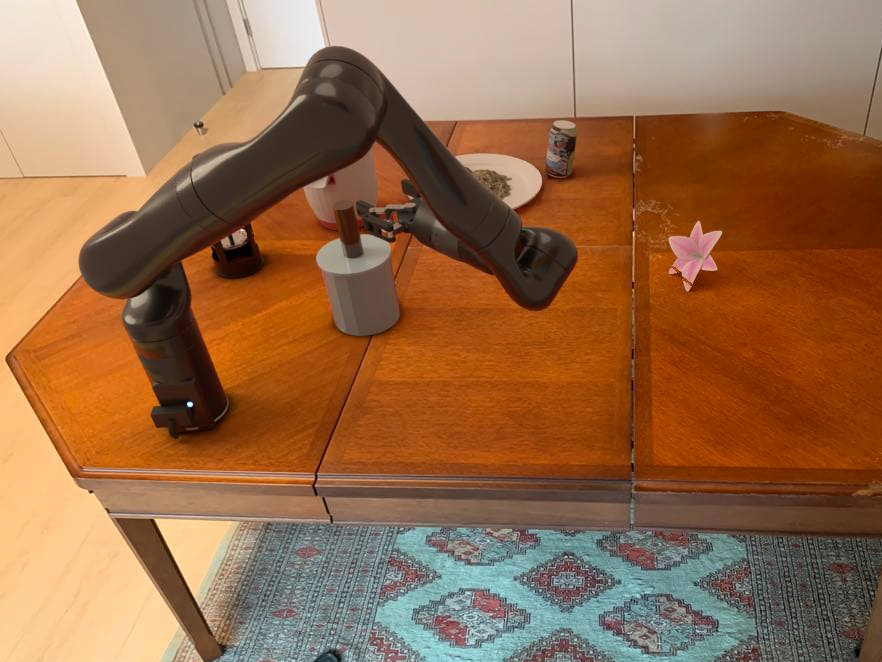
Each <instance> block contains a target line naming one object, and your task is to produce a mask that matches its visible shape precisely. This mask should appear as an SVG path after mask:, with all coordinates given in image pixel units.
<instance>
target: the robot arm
mask: <svg viewBox="0 0 882 662" xmlns="http://www.w3.org/2000/svg"><path fill="white" fill-rule="evenodd" d="M375 143H377V144H378V145H379V146H380V147H381V148H383V150H385V152H387V153H388V154H389V155H390V157H391V158H393V160H394V161H395V162H396V163H397V165H399V167H400V168H401V169H402V172H404V173H405V176H406V177H407V178H403V179H401V180H400V185H401V191H402V193H403V194H405V195H407V196H408V195H409V196H411V197H413V199H411V200H410V199H409V200H408V201H407V202H403V203H400V204H397V203H395V204H393V203H391V204H386V206H385V207H378V206H377V207H375V206H373V205H371V204H369V203H367V202H365V201H362V200H359V201H357V202H356V210H357V214H358V216H360V217H362V219H363V223H364V226H363V227H364V228H363V229H364V232H365V233H366V234H367V235H373V236H375V237H377V238H380V239H382V240H384V241H387V242H388V243H389V244H391V243H396V241H397V238H396V237H397V235H399V234H401V233H403V234H410V235H412V236H413V237H414V238H415V239H416V240H417V241H418V242H419V243H420V244H421V245H423V246H425V247H427V248H430V249H431V250H434V251H435V252H437V253H440V254H441V255H443V256H446V257H447V258H449V259H452V260H454V261H456V262H461V263H463V264H466V265H468V266H470V267H472V268H474V269H476V270H479V271H481V272H482V273H484V274H487V275H489V276H493V277H495V278H496V280H497V281H498V282H499V284H500V285H501V287H502V288H503V291H504V292H505V293H506V295H508V297H509V298H510V299H511V300H512V301H513V302H514V303H515V304H516V305H517V306H519V307H520V308H522V309H524V310H526V311H529V312H541V311H544V310H546V309H548V308H549V307H550V306H551V305H552V304H553V302H554V301H555V299H556V298H557V296H558V294H559V293H560V291H561V289H562V288H563V286H564V285H565V283H566V282H567V280H568V278H569V277H570V276H571V274H572V272H573V270H574V269H575V268H576V265H577V263H578V262H579V261H578V260H579V252H578V249H577V247H576V245H575V243H574V241H573V240H572V239H571V238H570V237H569V236H568V235H566V234H565V233H563V232H561V231H559V230H556V229H553V228H549V227H543V226H535V225H533V226H532V225H523V220H522V218H521V217H520V215H519V214H518V213H517V212H516V211H515V209H512V208H511V207H509V206H508V205H507V204H506V203H505V202H504V201H503V200H501V199H500V198H499V197H498V196H497V195H496V194H495V193H493V192H492V191H491V190H490V189H489V188H488V187H486V186H485V185H484V184H483V183H482V182H481V181H479V180H478V179H477V178H476V177H475V176H474V175H473V174H472V173H471V172H470V171H469V170H468V169H467V168H466V167H465V166H463V165H462V164H461V163H460V162H459V161H458V159H457V158H456V157H455V156H456V155H455V154H453V153H452V152H451V150H450V149H449V148H448V147H447V146H446V145H445V144H444V143H443V142H442V140H440V138H439V137H438V136H437V135H436V134H435V132H433V130H432V128H430V126H428V124H427V123H426V122H425V121H424V120H423V119H422V118H421V116H420V115H419V114H418V113H417V112H416V111H415V109H414V108H413V107H412V106H411V105H410V104H409V102H408V101H407V100H406V99H405V97H404V96H403V95H402V93H400V91H399V90H398V89H397V88H396V87H395V86H394V84H393V83H392V82H391V81H390V79H389V78H388V77H387V76H386V75H385V74H384V72H382V70H381V69H380V68H379V67H378V66H377V65H375V63H374V62H372V60H371V59H369V58H368V57H366V56H365V55H363V53H361V52H358V51H357V50H355V49H354V48H350V47H347V46H341V45H329V46H325V47H323V48H321V49H319V50H317V51H316V52H314V53H313V54H312V55H311V57H310V58H309V59H308V61H307V62H306V64H305V66H304V68H303V71H302V73H301V75H300V77H299V80H298V81H297V84H296V86H295V88H294V91H293V92H292V95H291V97H290V100H289V102H288V103H287V105H286V106H285V107H284V109H283V110H282V111H281V112H280V113H279V114H278V116H277V117H276V118H274V120H273V121H272V122H271V123H269V124H268V125H267V126H266V127H264V129H262V130H261V131H260V132H259V133H258V134H256V135H255V136H254V137H252V138H250V139H248V140H246V141H241V142H240V141H238V142H237V141H232V142H231V141H230V142H223V143H222V142H221V143H219V144H215V145H213V146H211V147H209V148H207V149H206V150H204V151H202V152H200V153H201V154H199V153H198V154H199V155H198V156H197V157H195V158H194V159H193V160H192V159H191V160H190V161H188V162H187V163H186V164H184V165H183V166H182V167H181V168H180V169H179V170H177V171H176V172H175V173H174V174H172V176H171V177H170V178H168V179H167V180H166V181H165V182H164V183H163V184H162V185H161V186H160V187H159V188H158V189H157V190H156V191H155V192H154V193H152V195H151V196H150V197H149V198H148V199H147V200H146V202H144V204H142V205H141V207H140V208H139V209H138V210H128V211H124V212H122V213H120V214H119V215H117V216H115V217H114V218H113V219H111V220H109V222H108V223H107V224H105V225H104V226H103V227H101V228H100V229H98V230H97V232H95V233H94V234H92V235H91V236H89V237H88V239H86V240H85V242H84V243H83V244H82V245H81V248H80V251H79V252H78V253H79V254H78V270H79V272H80V275H81V277H82V278H83V280H84V282H85V283H86V284H87V286H89V288H90V289H92V290H93V291H94V292H95V293H98V294H99V295H101V296H104V297H106V298H110V299H112V300H113V299H114V300H126V301H125V303H124V306H123V308H122V311H121V316H120V317H121V318H120V319H121V322H122V325H123V327H124V329H125V332H126V334H127V336H128V338H129V340H130V342H131V345H132V347H133V349H134V351H135V353H136V355H137V357H138V360H139V362H140V364H141V366H142V368H143V370H144V372H145V374H146V377H147V378H148V380H149V381H148V382H149V383H150V386H151V390H152V391H153V393H154V395H155V398H156V400H157V402H158V404H159V405H154V406H152V408H151V412H150V414H149V415H150V418H151V420H152V422H153V424H154V426H155V428H156V429H165V428H167V429H168V430H167V431H168V434H169V436H170V437H171V438H172V439H174V440H178V439H180V435H179V434H180V433H188V432H196V431H206V430H212V429H215V425H216V424H217V423H219V422H220V421H221V420H222V419H223V418H224V417H225V416H226V415H227V413H228V412H229V409H230V400H229V397H228V396H227V394H226V392H225V390H224V387H223V385H222V382H221V380H220V377H219V374H218V371H217V369H216V367H215V364H214V361H213V359H212V357H211V354H210V351H209V349H208V345H207V344H206V342H205V339H204V336H203V334H202V331H201V329H200V326H199V324H198V321H197V318H196V316H195V313H194V311H193V307H192V301H193V299H192V298H193V295H192V290H191V287H190V283H189V280H188V277H187V274H186V271H185V267H184V265H183V261H184V260H186V259H188V258H190V257H193V256H195V255H197V254H198V253H200V252H202V251H204V250H206V249H208V248H211V246H212V245H213V244H215V243H217V242H219V241H221V240H222V239H224V238H226V237H228V236H230V235H231V234H233V233H235V232H236V231H238V230H240V229H241V228H243V227H244V226H246V225H247V224H249V223H252V222H254V221H255V220H257V219H258V218H259V217H260V216H262V215H263V214H265V213H266V212H267V211H269V210H270V209H272V208H274V207H276V206H277V205H279V204H280V203H282V202H283V201H285V200H286V199H288V198H289V197H290V196H292V195H293V194H295V193H296V192H297V191H299V190H301V189H304V188H303V187H305V186H307V185H309V184H311V183H313V182H316V181H318V180H320V179H322V178H324V177H327V176H329V175H331V174H333V173H335V172H338V171H340V170H342V169H344V168H346V167H348V166H350V165H352V164H354V163H356V162H357V161H359V160H360V159H362V158H363V157H364V156H365V155H366V154H367V153H368V152H369V150H370V149H372V148H373V147H374V145H375ZM393 213H396V217H397V222H396V221H395V219H394V214H393ZM380 215H382V216H384V217H385V219H382V218H380Z"/></svg>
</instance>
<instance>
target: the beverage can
mask: <svg viewBox="0 0 882 662" xmlns="http://www.w3.org/2000/svg"><path fill="white" fill-rule="evenodd" d="M576 126H577V125H576V123H574V122H572V121H571V120H570V121H569V120H566V119H565V120H564V119H557V120H555V121H553V124H552V125H551V126H550V128H549V135H548V142H547V143H548V144H547V151H546V158H545V159H546V160H545V168H544V170H545V172H546V173H547V174H548V175H549V176H550V177H552V178H557V179H564V178H567V177H568V176H571V174H572V172H573V165H574V159H575V151H576V145H577V138H578V130H577V127H576Z"/></svg>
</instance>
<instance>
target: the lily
mask: <svg viewBox="0 0 882 662" xmlns="http://www.w3.org/2000/svg"><path fill="white" fill-rule="evenodd" d="M722 235H723V230H713V231H710V232H707V233H703V229H702V224H701V221H700V220H697V221H696V223H695V224H694V227H692V230H691V233H690V235H689V236H684V235H672V236H669V237H668V243H669V246H670V248H671V250H672V252H673V253H674V255H675V256H676V259H675V261H674V262H673V263H672V265H671V267H672V266H674V267H676V268H677V269H678V270H679V271H680V272H681V277H682V276H683V277H684V278H686V279H687V280H688V281H689V282H691V283H692V285H693V284H694V281H695V280H696V277H697V275H698V273H699V271H700V270H702V271H708V272H709V271H712V272H713V271H718V267H717V265H716V262H715V261H714V258H713V257H712V255H711V254H710V253H711V251H712V250H713V248H714V247H715V245H716V244H717V242H718V241H719V239H720V238H721V236H722ZM671 267H670V268H669V270H668V274H669V275H673V274H677V272H676V271H675V270H674V269H673V268H671ZM680 272H679V273H680ZM682 283H683V286H684V289H685V291H686V292H689V291H690V289H691V288H692V286H690V285H689V284H688V283H686V282H685V281H683V280H682Z"/></svg>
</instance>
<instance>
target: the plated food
mask: <svg viewBox="0 0 882 662" xmlns="http://www.w3.org/2000/svg"><path fill="white" fill-rule="evenodd" d="M454 156H455V157H456V158H457V159H458V161H459V162H460V163H461V164H462V165H463V166H465V167H466V168H467V169H468V170H469V171H470V172H471V173H472V174H473V175H474V176H475V177H476V178H477V179H478V180H479V181H481V182H482V183H483V184H484V185H485V186H486V187H488V188H489V189H490V190H491V191H492V192H493V193H495V194H496V195H497V196H498V197H499V198H500V199H501V200H503V201H504V202H505V203H506V204H507V205H508V206H509V207H511V208H512V209H513V210H516V209H519V208H520V207H522V206H524V205H526V204H528V203H529V202H531V201H532V200H533V199H534V198H535V197H536V196H537V195H538V194H539V193H540V191H541V188H542V186H543V177H542V175H541V172H540V171H539V170H538V168H537V167H536V166H535V165H533V164H532V163H529V162H528V161H526V160H524V159H522V158H518V157H514V156H510V155H506V154H500V153H485V152H484V153H469V154H461V155H454ZM407 198H408V199H409V201H410V200H411V199H413V197H411V196H409V195H407Z"/></svg>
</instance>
